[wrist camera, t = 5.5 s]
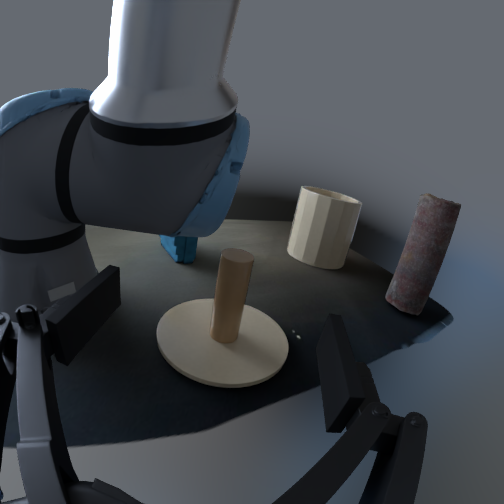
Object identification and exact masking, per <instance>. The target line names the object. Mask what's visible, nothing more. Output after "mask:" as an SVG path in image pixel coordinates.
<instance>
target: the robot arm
mask: <svg viewBox="0 0 504 504" xmlns="http://www.w3.org/2000/svg"><path fill="white" fill-rule="evenodd" d="M240 1H241V0H114V4H113V12H112V21H111V32H110V47H109V72H108V77H107V78H106V79H105V80H104V82H102V84H101V85H100V86H99V87H98V88H97V89H96V90H95V91H94V92H92V91H90V90H86V89H78V88H64V89H58V90H44V91H39V92H34V93H30V94H27V95H23V96H20V97H18V98H15V99H13V100H11V101H9V102H7V103H6V104H5V105H3V106H2V107H1V108H0V471H1V463H2V452H3V444H4V436H5V429H6V423H7V418H8V412H9V407H10V402H11V398H12V394H13V389H14V385H15V381H16V378H17V408H18V421H19V430H20V442H17V454H18V460H19V466H20V471H21V476H22V480H23V485H24V489H25V493H26V497H22V498H19V499H15V500H11V501H7V502H3V503H1V500H2V499H3V492H2V491H1V488H0V504H143V503H141V502H139V501H138V500H136V499H134V498H133V497H131V496H130V495H128V494H126V493H125V492H124V491H122V490H121V489H119V488H116V487H114V486H112V485H110V484H107V483H105V482H103V481H101V480H99V479H96V478H95V480H94V482H88V481H79V479H78V477H77V475H76V473H75V471H74V469H73V467H72V463H71V460H70V456H69V453H68V449H67V445H66V442H65V438H64V433H63V429H62V424H61V420H60V415H59V409H58V404H57V398H56V391H55V384H54V377H53V368H52V360H51V356H52V355H53V353H54V354H55V357H56V360H57V361H58V362H60V363H62V364H64V365H66V366H68V365H69V364H70V362H71V361H72V360H73V359H74V358H75V356H76V355H77V354H78V353H79V352H80V350H81V349H82V348H83V347H84V346H85V344H86V343H87V342H88V341H89V340H90V339H91V337H92V336H93V335H94V334H95V333H96V332H97V330H98V329H99V328H100V327H101V326H102V325H103V324H104V322H105V321H106V320H107V319H108V318H109V317H110V316H111V315H112V313H113V312H114V311H115V310H116V309H117V308H118V307H119V306H120V305H121V298H120V267H116V266H112V265H109V266H108V267H106V268H105V269H104V270H103V271H101V272H100V273H98V271H97V269H96V268H95V265H94V261H93V258H92V255H91V252H90V249H89V246H88V243H87V240H86V236H85V224H87V225H94V226H101V227H108V228H115V229H122V230H129V231H136V232H143V233H150V234H157V235H164V236H169V237H176V236H187V237H206V236H209V235H211V234H212V233H214V232H215V231H216V230H217V229H218V228H219V227H220V225H221V224H222V222H223V220H224V219H225V216H226V214H227V212H228V210H229V208H230V205H231V203H232V200H233V197H234V194H235V191H236V189H237V185H238V182H239V178H240V170H241V168H242V165H243V162H244V159H245V156H246V152H247V147H248V142H249V134H250V129H249V128H250V126H249V121H248V120H247V119H246V118H245V117H243V116H241V115H240V114H237V113H235V112H236V108H237V103H238V97H237V95H236V93H235V92H234V90H233V89H232V88H231V87H230V85H229V84H228V83H227V81H226V80H225V79H224V78H223V72H224V68H225V63H226V59H227V54H228V49H229V45H230V41H231V37H232V32H233V28H234V24H235V20H236V16H237V12H238V8H239V4H240ZM316 354H317V361H318V369H319V376H320V383H321V391H322V399H323V407H324V416H325V424H326V432H332V433H341V432H342V431H343V429H344V428H345V427H346V429H347V431H346V432H345V433H344V435H343V436H342V437H341V438H340V439H339V440H338V441H337V442H336V443H335V445H334V446H333V447H332V448H331V449H330V450H329V451H328V452H327V453H326V454H325V455H324V456H323V457H322V458H321V459H320V460H319V461H318V462H317V463H316V464H315V465H314V466H313V467H312V468H311V469H310V470H309V471H308V472H307V473H306V474H305V475H304V476H303V477H302V478H301V479H300V480H299V481H298V482H297V483H295V484H294V485H293V486H292V487H291V488H290V489H289V490H288V491H286V492H285V493H284V494H283V495H282V496H281V497H279V498H278V499H277V500H276V501H275V502H273V503H272V504H326V502H327V501H328V500H329V499H330V498H331V497H332V496H333V495H334V494H335V493H336V491H337V490H338V489H339V488H340V487H341V485H342V484H343V483H344V482H345V481H346V480H347V478H348V477H349V476H350V475H351V473H352V472H353V471H354V470H355V468H356V467H357V466H358V465H359V463H360V462H361V461H362V459H363V458H364V457H365V455H366V454H367V453H368V451H369V450H373V451H377V452H378V453H377V456H376V459H375V462H374V465H373V468H372V471H371V473H370V476H369V479H368V482H367V484H366V487H365V489H364V492H363V494H362V497H361V499H360V502H359V504H414V500H415V496H416V492H417V488H418V483H419V479H420V474H421V469H422V463H423V457H424V451H425V444H426V436H427V427H428V424H427V421H426V418H425V417H424V416H423V415H421V414H419V413H417V412H411V413H409V414H407V416H406V417H405V418H404V417H400V416H397V415H393V414H391V412H390V410H389V408H388V407H387V406H386V405H385V404H382V403H381V402H380V399H379V396H378V393H377V390H376V387H375V384H374V380H373V378H372V374H371V372H370V369H369V368H368V367H367V365H366V364H365V363H362V362H355V358H354V355H353V352H352V348H351V345H350V342H349V339H348V336H347V332H346V329H345V326H344V323H343V320H342V317H341V315H335V314H329V316H328V318H327V321H326V324H325V326H324V329H323V331H322V334H321V336H320V339H319V341H318V344H317V346H316Z"/></svg>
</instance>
